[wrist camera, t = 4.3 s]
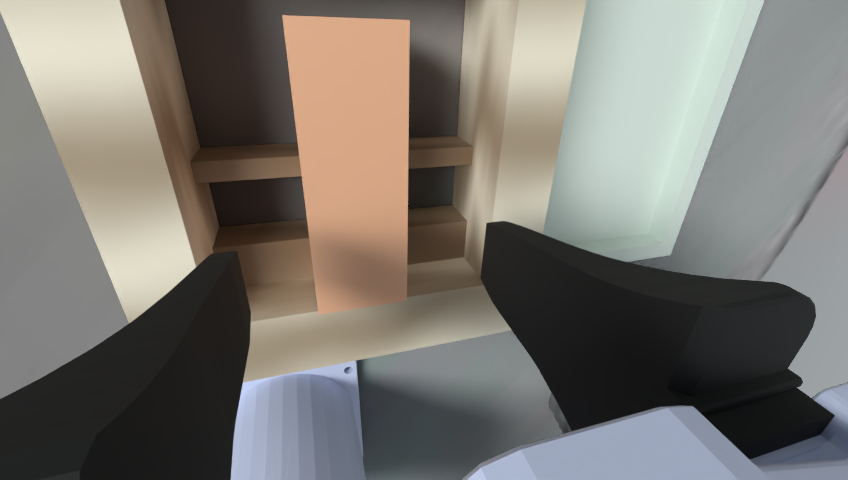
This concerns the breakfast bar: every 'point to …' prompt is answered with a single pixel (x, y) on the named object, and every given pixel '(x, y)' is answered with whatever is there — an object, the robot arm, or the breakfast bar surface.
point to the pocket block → (293, 173)
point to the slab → (353, 154)
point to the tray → (643, 120)
